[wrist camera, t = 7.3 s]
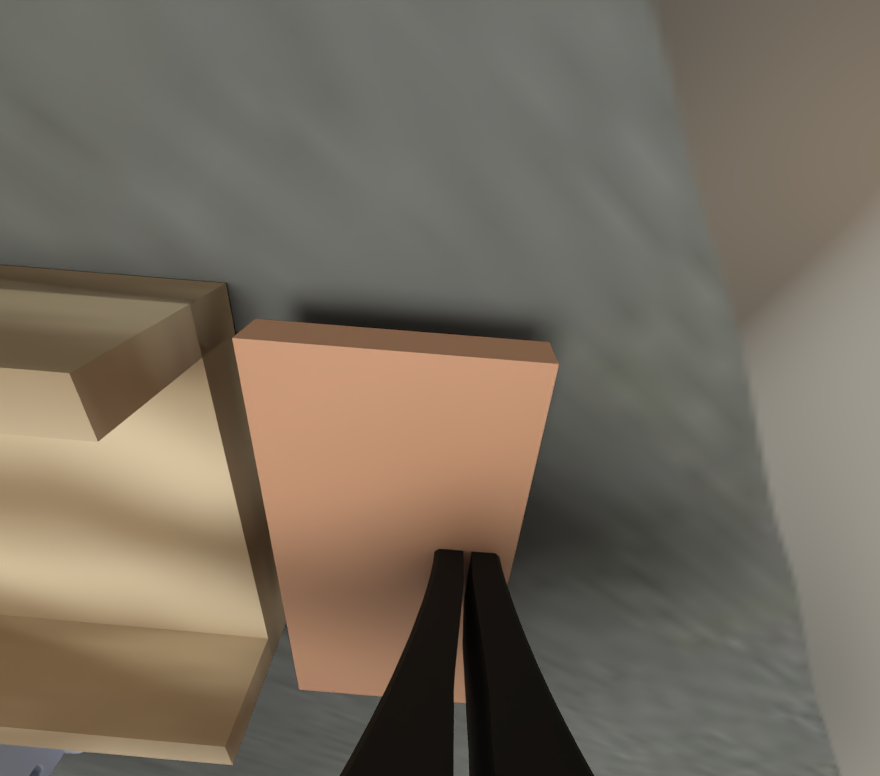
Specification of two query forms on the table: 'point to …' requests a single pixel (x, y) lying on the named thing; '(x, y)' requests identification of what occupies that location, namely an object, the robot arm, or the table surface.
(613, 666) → the table surface
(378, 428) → the panel
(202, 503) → the tray
